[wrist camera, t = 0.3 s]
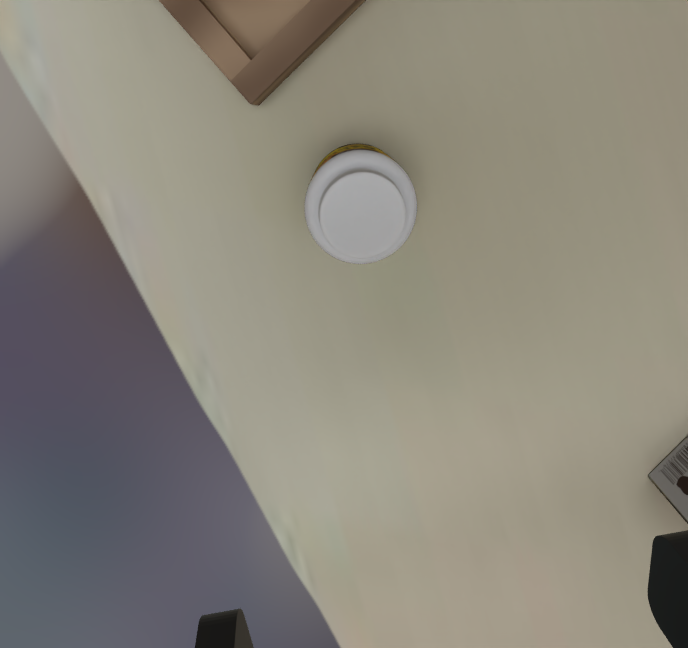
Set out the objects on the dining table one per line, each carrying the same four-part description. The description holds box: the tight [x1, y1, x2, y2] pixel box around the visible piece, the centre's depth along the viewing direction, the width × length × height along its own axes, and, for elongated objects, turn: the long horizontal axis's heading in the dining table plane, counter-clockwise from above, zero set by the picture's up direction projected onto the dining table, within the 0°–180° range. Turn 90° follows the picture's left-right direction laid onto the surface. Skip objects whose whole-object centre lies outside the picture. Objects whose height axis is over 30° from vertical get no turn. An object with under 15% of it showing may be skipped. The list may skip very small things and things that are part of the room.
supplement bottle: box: [305, 144, 417, 264], centre depth 31 cm, size 6×6×10 cm
